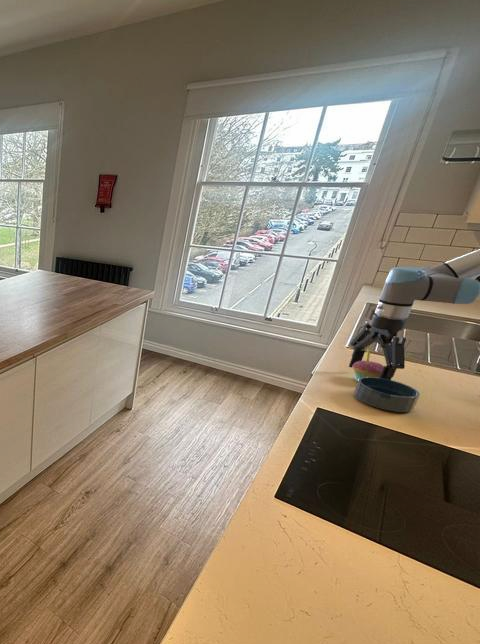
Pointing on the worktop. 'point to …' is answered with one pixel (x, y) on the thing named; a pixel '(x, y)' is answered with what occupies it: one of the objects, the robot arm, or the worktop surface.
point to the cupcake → (367, 368)
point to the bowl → (386, 394)
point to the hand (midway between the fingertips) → (367, 375)
